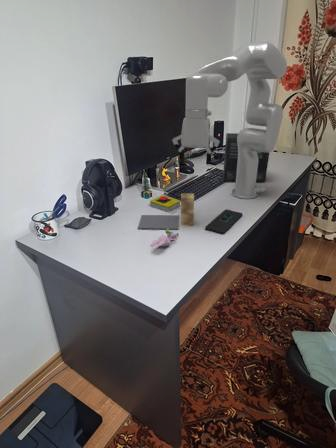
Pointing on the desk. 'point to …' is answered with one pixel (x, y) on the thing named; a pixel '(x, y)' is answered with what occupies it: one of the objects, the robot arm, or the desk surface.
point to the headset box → (232, 160)
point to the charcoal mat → (159, 222)
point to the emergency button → (165, 204)
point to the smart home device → (223, 222)
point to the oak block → (187, 209)
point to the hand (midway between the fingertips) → (195, 162)
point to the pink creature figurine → (165, 239)
